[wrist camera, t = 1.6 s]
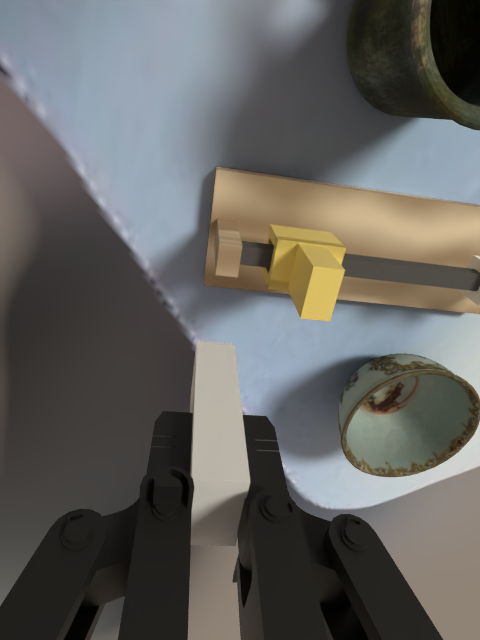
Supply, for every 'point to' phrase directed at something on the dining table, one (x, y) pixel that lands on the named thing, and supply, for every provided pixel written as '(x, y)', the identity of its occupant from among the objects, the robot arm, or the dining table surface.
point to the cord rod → (380, 269)
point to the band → (476, 296)
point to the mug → (418, 57)
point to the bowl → (405, 415)
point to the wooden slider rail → (342, 233)
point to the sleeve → (306, 269)
